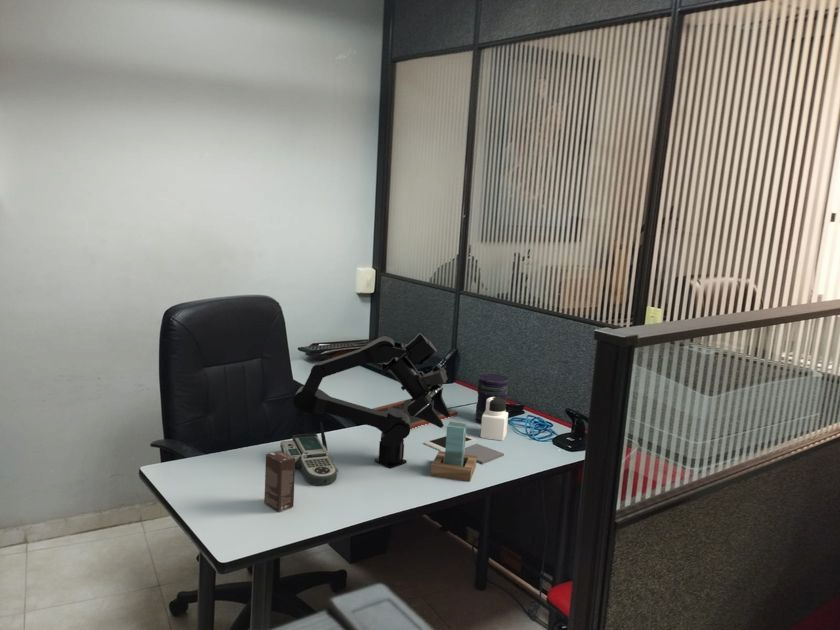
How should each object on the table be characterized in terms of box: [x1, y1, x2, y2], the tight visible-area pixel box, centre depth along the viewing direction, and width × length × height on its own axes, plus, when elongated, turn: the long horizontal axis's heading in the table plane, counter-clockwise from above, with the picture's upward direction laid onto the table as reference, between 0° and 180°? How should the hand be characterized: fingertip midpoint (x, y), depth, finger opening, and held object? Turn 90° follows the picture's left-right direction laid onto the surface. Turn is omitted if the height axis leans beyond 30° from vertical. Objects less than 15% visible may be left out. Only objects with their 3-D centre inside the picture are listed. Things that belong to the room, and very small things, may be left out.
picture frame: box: [372, 397, 459, 430], centre depth 227 cm, size 20×2×25 cm
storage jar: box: [475, 373, 509, 425], centre depth 223 cm, size 10×10×15 cm
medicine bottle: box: [480, 397, 509, 442], centre depth 210 cm, size 7×7×12 cm
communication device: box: [279, 421, 339, 487], centre depth 178 cm, size 12×24×9 cm, turn 23°
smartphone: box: [423, 434, 476, 451], centre depth 204 cm, size 7×16×1 cm, turn 134°
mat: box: [465, 443, 505, 465], centre depth 195 cm, size 10×10×1 cm
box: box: [263, 450, 296, 513], centre depth 156 cm, size 6×4×12 cm
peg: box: [444, 420, 468, 467], centre depth 181 cm, size 4×4×13 cm
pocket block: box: [430, 450, 477, 482], centre depth 182 cm, size 10×10×3 cm
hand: (445, 421), depth 180 cm, fingers open, 9 cm apart
